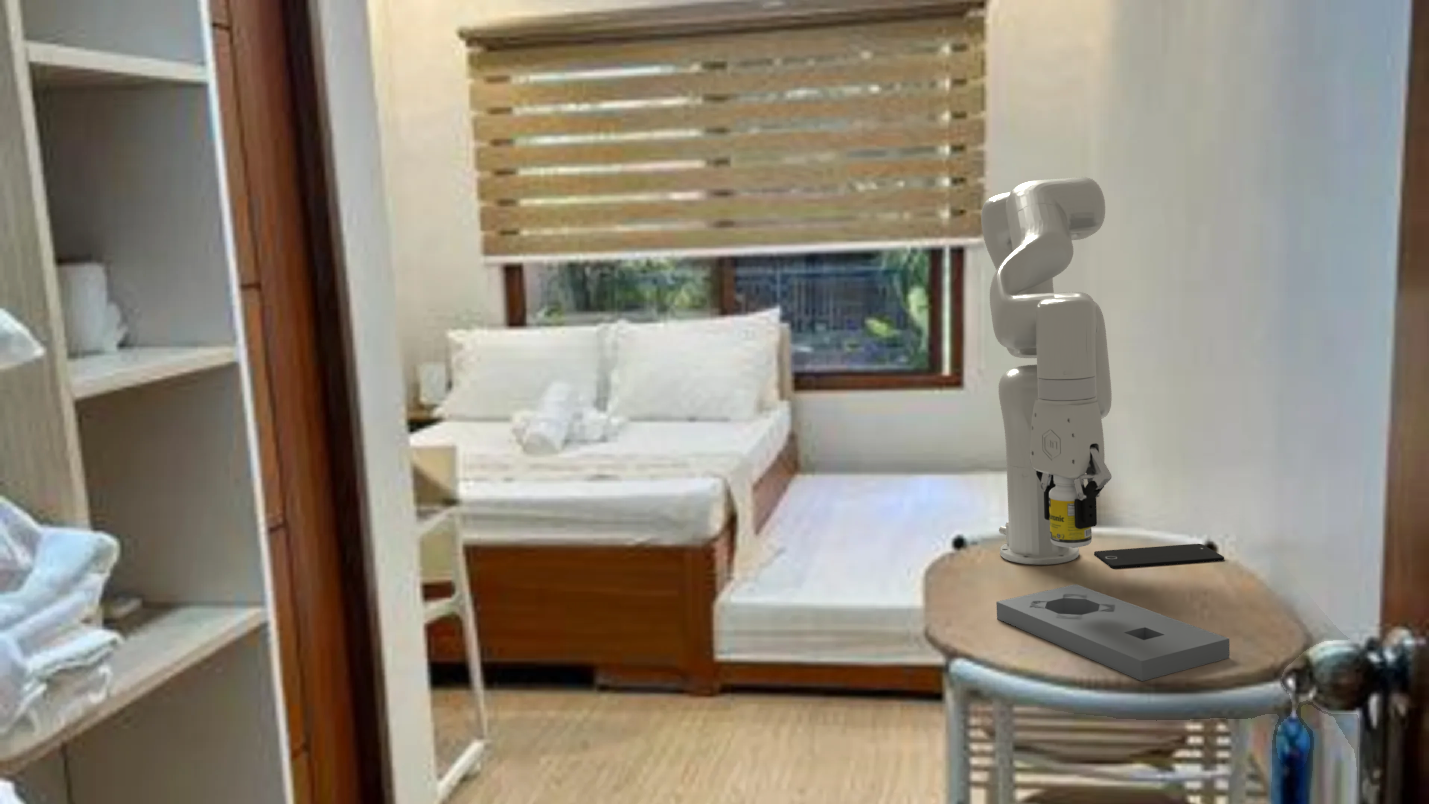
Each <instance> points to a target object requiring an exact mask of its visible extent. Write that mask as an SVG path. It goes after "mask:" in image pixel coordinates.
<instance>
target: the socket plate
mask: <svg viewBox="0 0 1429 804" xmlns="http://www.w3.org/2000/svg"><path fill="white" fill-rule="evenodd" d="M996 619H997V620H998V621H1002V622H1003V621H1004V622H1003V623H1006V624H1008V623H1009V625H1010V624H1011V625H1010V626H1012V627H1015V626H1016V627H1015V628H1016V629H1017V628H1018V629H1020V630H1022V631H1025V632H1027V633H1029V634H1032V635H1034V636H1036V637H1038V638H1040V639H1044V640H1046V641H1047V642H1050V643H1053V644H1054V645H1057V646H1059V647H1061V648H1064V649H1066V650H1069V651H1071V652H1073V653H1075V654H1078V655H1080V656H1083V657H1085V658H1087V659H1089V660H1092V661H1094V662H1097V663H1099V664H1101V665H1103V666H1105V667H1109V668H1110V669H1113V670H1115V671H1118V672H1120V673H1122V674H1124V675H1127V676H1129V677H1131V678H1133V679H1136V680H1139V681H1141V682H1145V681H1148V680H1151V679H1156V678H1159V677H1162V676H1166V675H1171V674H1173V673H1178V672H1181V671H1185V670H1190V669H1192V668H1197V667H1201V666H1204V665H1208V664H1211V663H1215V662H1219V661H1220V662H1221V661H1223V660H1227V659H1230V638H1229V637H1226V636H1223V635H1220V634H1218V633H1216V632H1215V633H1214V632H1212V631H1210V630H1207V629H1204V628H1201V627H1198V626H1195V625H1193V624H1189V623H1187V622H1184V621H1181V620H1178V619H1175V618H1172V617H1170V616H1167V615H1164V614H1162V613H1158V612H1156V611H1153V610H1150V609H1147V608H1145V607H1141V606H1138V605H1136V604H1133V603H1130V602H1128V601H1124V600H1121V599H1120V598H1116V597H1114V596H1111V595H1108V594H1105V593H1101V592H1099V591H1096V590H1094V589H1091V588H1088V587H1086V586H1082V585H1079V584H1070V585H1066V586H1062V587H1057V588H1052V589H1048V590H1044V591H1039V592H1034V593H1030V594H1024V595H1022V596H1017V597H1012V598H1007V599H1002V600H999V601H996Z"/></svg>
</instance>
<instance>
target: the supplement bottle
mask: <svg viewBox="0 0 1429 804" xmlns="http://www.w3.org/2000/svg"><path fill="white" fill-rule="evenodd" d="M1053 478H1054V479H1053V481H1054V484H1056V486H1055V487H1053V488H1052V489H1051V490H1050V492H1049V514H1050V539H1051V542H1052V543H1053V544H1054V545H1057V546H1061V547H1078V548H1080V547H1081V548H1082V547H1086V546H1089V545H1090V544H1091V543H1092V542H1093V541H1092V540H1093V539H1092V535H1093V533H1092V527H1088V528H1083V529H1077V528H1076V527H1075V509H1074V501H1075V499H1079V498H1078V496H1077V492H1076V488H1075V484H1074V480H1073V479H1069V478H1065V477H1060V476H1056V475H1053ZM1083 482H1084V483H1085V480H1083Z"/></svg>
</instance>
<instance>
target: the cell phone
mask: <svg viewBox="0 0 1429 804" xmlns="http://www.w3.org/2000/svg"><path fill="white" fill-rule="evenodd" d="M1093 554H1094V557H1095V558H1097V559H1098V560H1100V561H1101V562H1103V563H1104V564H1105V565H1106V566H1108V567H1109V568H1110V569H1113V570H1117V569H1119V570H1121V569H1133V568H1146V567H1147V568H1148V567H1158V566H1172V565H1173V566H1174V565H1175V566H1176V565H1186V564H1189V565H1190V564H1199V563H1201V564H1202V563H1214V562H1224V561H1225V557H1224V556H1223V555H1221V554H1219V553H1218V552H1216V551H1215V550H1213V549H1212V548H1209V547H1208V546H1206V545H1204V544H1203V543H1191V544H1190V543H1187V544H1177V545H1176V544H1175V545H1162V546H1161V545H1160V546H1147V547H1135V548H1121V549H1119V548H1118V549H1108V550H1107V549H1105V550H1095V551H1094V552H1093Z"/></svg>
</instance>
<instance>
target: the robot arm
mask: <svg viewBox="0 0 1429 804" xmlns="http://www.w3.org/2000/svg"><path fill="white" fill-rule="evenodd" d="M980 217H981V218H980V220H981V222H980V223H981V229H982V237H983V240H984V244H985V247H986V249H987V252H988V255H989V256H990V259H991V262H992V264H993V266H994V268H995V270H996V271H995V273H994V275H993V276H992V280H991V283H990V287H989V307H990V313H991V321H992V327H993V332H994V337H995V339H996V340H997V342H998V343H999V344H1000V345H1001V346H1002V347H1004V348H1006V351H1008V353H1009V354H1010V355H1011V356H1013V357H1014V358H1015V357H1016V358H1020V359H1036V364H1027V365H1025V364H1024V365H1020V366H1015V367H1013V368H1009V370H1007V371H1006V372H1004V373H1003V374H1002V376H1001V377H1000V379H999V383H998V398H999V404H1000V410H1001V414H1002V420H1003V421H1002V422H1003V427H1004V438H1005V454H1006V456H1005V458H1006V483H1007V484H1006V487H1007V488H1006V489H1007V514H1008V515H1007V516H1008V517H1007V519H1008V521H1007V522H1006V523H1005V525H1001V526H999V528H998V532H999V534H1001V535H1004V536H1006V543H1004V544H1002V545H1001V546H1000V547H999V555H1000V556H1001V557H1002V558H1003V559H1004V560H1006V561H1009V562H1013V563H1017V564H1021V565H1022V564H1024V565H1035V566H1036V565H1038V566H1040V565H1043V566H1044V565H1057V564H1064V563H1068V562H1072V561H1073V560H1076V558H1078V557H1079V556H1080V555H1079V554H1080V547H1061V546H1057V545H1054V544H1053V543H1052V542H1051V539H1050V514H1049V492H1050V490H1051V489H1052V488H1053V487H1055V486H1056V484H1054V481H1053V479H1054V478H1053V475H1056V476H1060V477H1065V478H1069V479H1073V480H1074V484H1075V488H1076V492H1077V496H1078V498H1079V499H1075V501H1074V509H1075V527H1076V528H1077V529H1083V528H1088V527H1091V528H1092V527H1093V528H1094V527H1096V526H1097V523H1098V520H1097V519H1098V516H1097V514H1098V513H1097V510H1098V509H1097V498H1099V497H1100V495H1101V493H1100V492H1102V490H1103V489H1104V488H1105V485H1107V484H1108V483H1109V482H1110V480H1111V479H1112V477H1113V476H1112V473H1111V472H1110V470H1109V468H1108V467H1107V464H1106V463H1105V441H1104V440H1105V439H1104V438H1105V437H1104V428H1103V421H1102V419H1104V418H1105V417H1107V416H1108V415H1109V413H1110V411H1111V408H1112V400H1113V399H1112V397H1113V396H1112V384H1111V383H1112V382H1111V380H1112V379H1111V371H1110V361H1109V350H1108V349H1109V348H1108V339H1107V331H1106V324H1105V323H1106V322H1105V318H1104V313H1103V311H1102V309H1101V307H1100V305H1099V304H1098V303H1097V302H1096V301H1095V300H1094V299H1093V298H1092V296H1091V295H1089V294H1088V293H1086V292H1083V291H1082V292H1081V291H1069V292H1067V291H1066V292H1054V278H1055V277H1057V276H1058V275H1059V274H1062V273H1063V272H1064V271H1065V270H1066V269H1067V268H1068V267H1069V265H1070V264H1071V262H1072V259H1073V257H1074V244H1073V242H1072V241H1078V240H1079V241H1080V240H1084V239H1087V238H1089V237H1091V236H1093V235H1094V234H1096V233H1097V232H1098V231H1099V230H1100V229H1101V228H1102V227H1103V224H1104V222H1105V217H1106V200H1105V196H1104V192H1103V190H1102V188H1101V187H1100V185H1099V184H1098V182H1097V181H1095V180H1094V179H1093V178H1090V177H1086V176H1084V177H1083V176H1081V177H1080V176H1079V177H1077V176H1076V177H1067V178H1066V177H1063V178H1062V177H1061V178H1052V179H1051V178H1049V179H1048V178H1047V179H1035V180H1030V181H1026V182H1023V183H1020V184H1018V185H1017V186H1016V187H1014V188H1012V190H1011V191H1009V192H1008V191H1007V192H1004V193H999V194H997V195H995V194H994V196H992V197H989V198H988V199H986V200H985V202H984V204H983V205H982V208H981V215H980ZM1083 480H1084V482H1083ZM1086 480H1087V484H1086V485H1085V481H1086Z"/></svg>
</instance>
